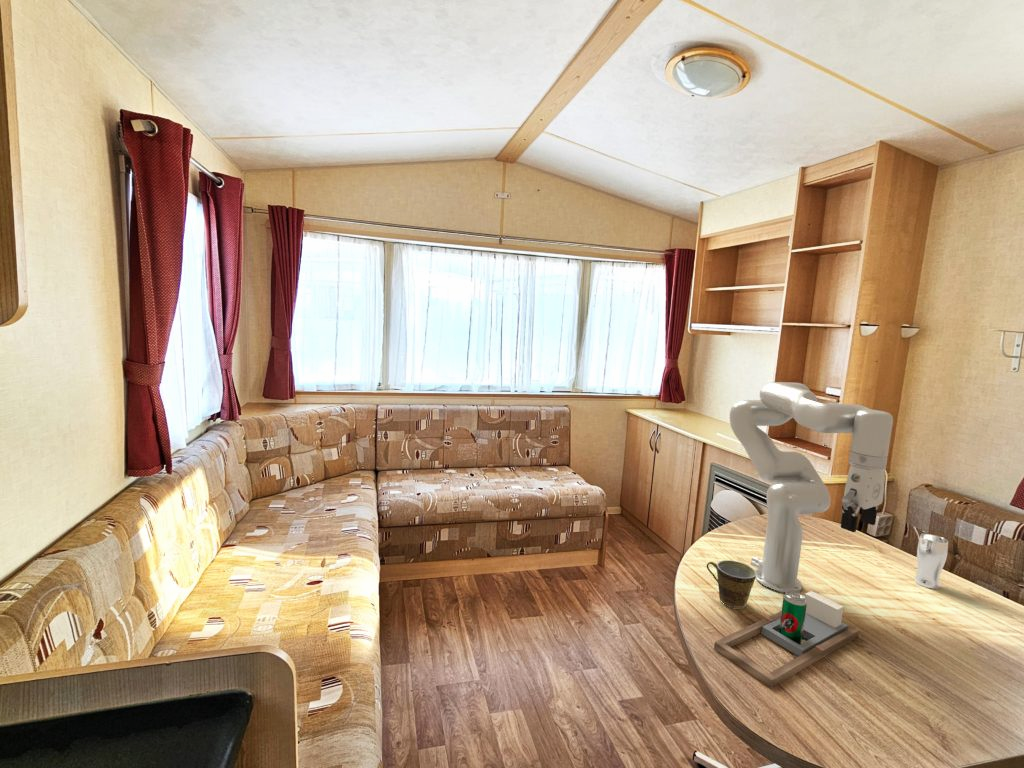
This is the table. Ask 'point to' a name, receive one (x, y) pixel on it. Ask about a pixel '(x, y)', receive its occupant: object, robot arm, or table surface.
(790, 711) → the table surface
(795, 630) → the soda can
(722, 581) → the ceramic cup
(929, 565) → the beer glass
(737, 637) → the track
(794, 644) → the grey board with block
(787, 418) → the robot arm
